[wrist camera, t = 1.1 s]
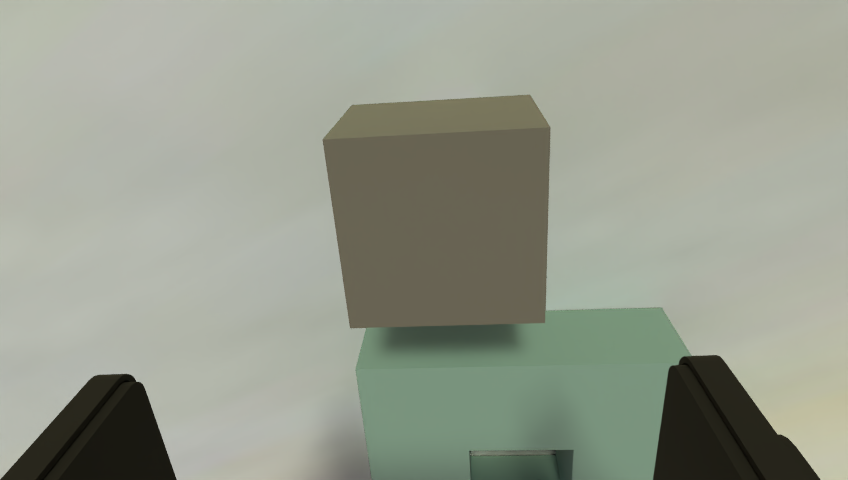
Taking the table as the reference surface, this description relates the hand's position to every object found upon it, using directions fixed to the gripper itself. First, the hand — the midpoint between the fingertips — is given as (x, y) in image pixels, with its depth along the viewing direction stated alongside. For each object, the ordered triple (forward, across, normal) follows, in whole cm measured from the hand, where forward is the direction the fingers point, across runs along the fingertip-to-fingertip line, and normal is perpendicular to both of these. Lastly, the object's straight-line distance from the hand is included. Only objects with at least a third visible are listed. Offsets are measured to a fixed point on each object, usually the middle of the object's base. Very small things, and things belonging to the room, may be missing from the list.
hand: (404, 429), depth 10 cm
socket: (+17, -4, +16) cm, 24 cm away
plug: (+17, -1, 0) cm, 17 cm away
